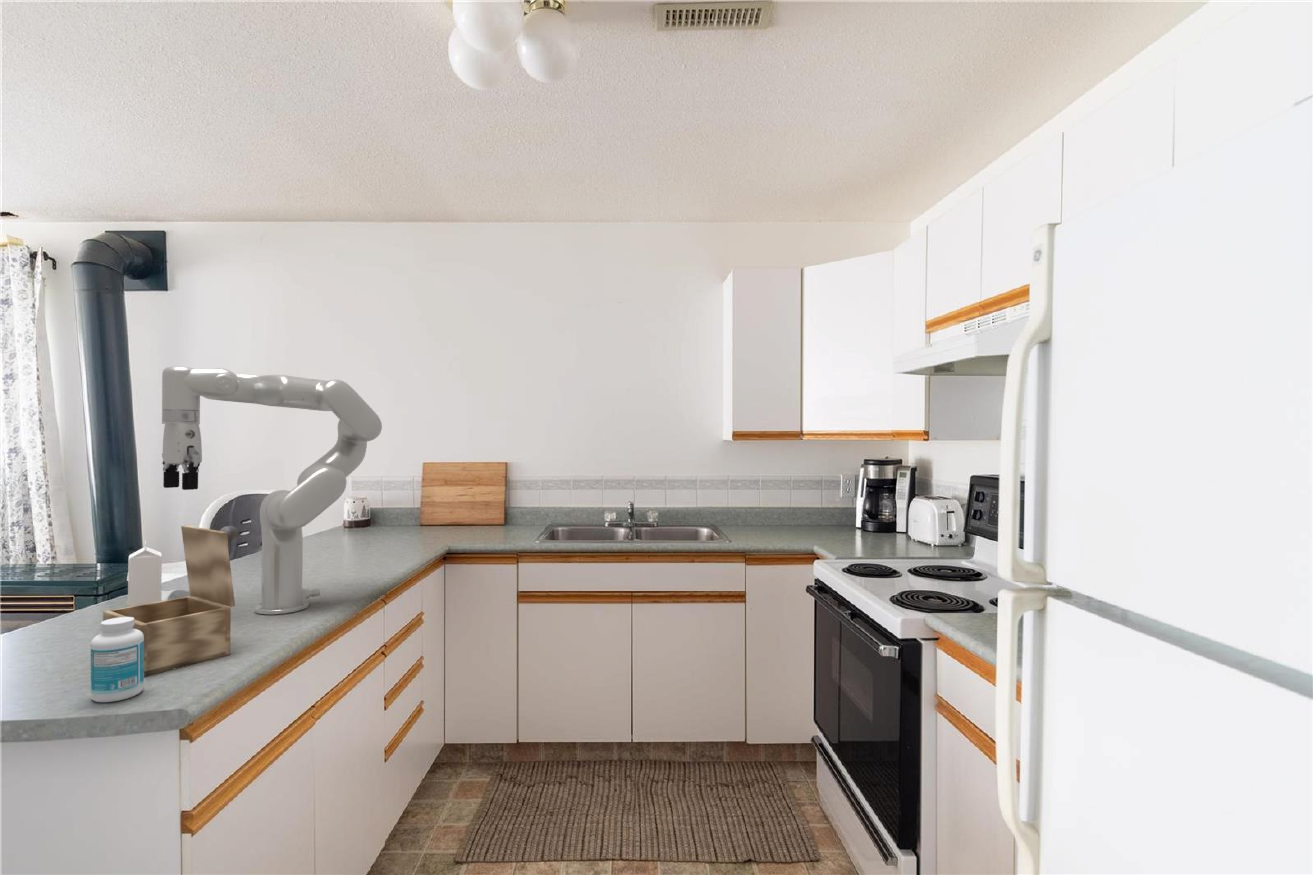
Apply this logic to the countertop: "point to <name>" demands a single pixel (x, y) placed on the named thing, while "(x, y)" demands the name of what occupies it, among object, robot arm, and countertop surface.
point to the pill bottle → (117, 661)
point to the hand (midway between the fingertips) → (180, 488)
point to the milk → (144, 576)
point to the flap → (209, 563)
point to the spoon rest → (174, 594)
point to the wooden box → (179, 631)
